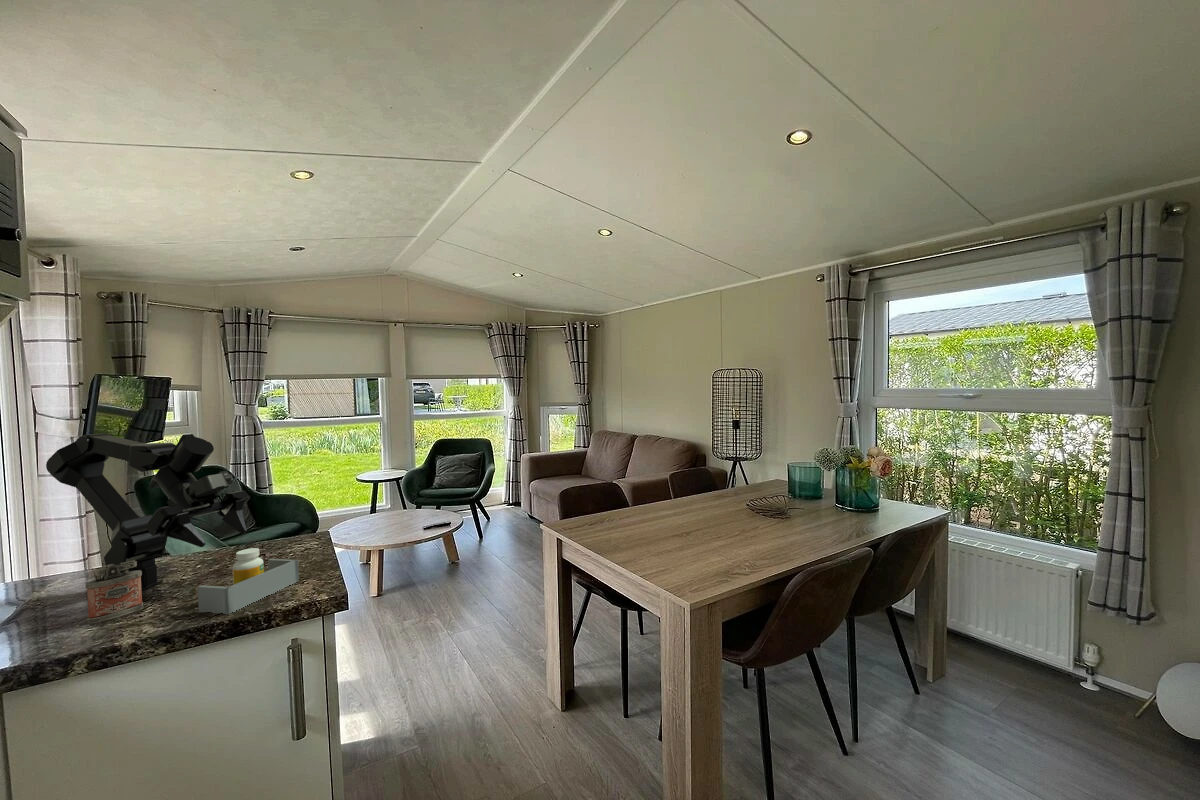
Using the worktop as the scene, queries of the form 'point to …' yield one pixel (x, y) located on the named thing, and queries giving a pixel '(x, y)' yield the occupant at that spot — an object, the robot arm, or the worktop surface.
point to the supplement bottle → (247, 565)
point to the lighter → (114, 592)
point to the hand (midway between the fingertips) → (225, 539)
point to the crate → (248, 588)
